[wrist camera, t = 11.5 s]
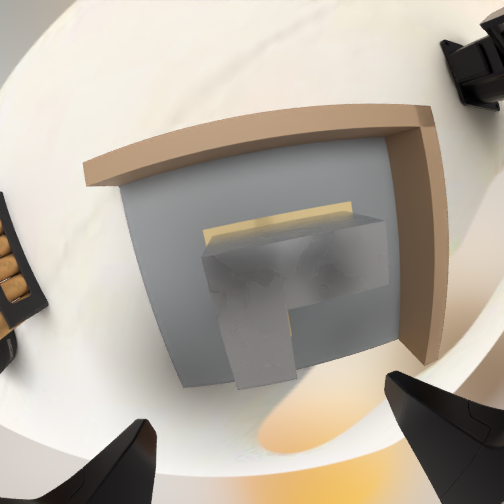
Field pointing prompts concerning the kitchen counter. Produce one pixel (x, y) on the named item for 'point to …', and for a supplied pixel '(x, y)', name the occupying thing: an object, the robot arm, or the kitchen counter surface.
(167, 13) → the kitchen counter surface
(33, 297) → the ammunition clip
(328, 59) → the kitchen counter surface
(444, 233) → the arena
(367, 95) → the kitchen counter surface
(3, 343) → the pen holder
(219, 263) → the angle bracket
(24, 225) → the kitchen counter surface
